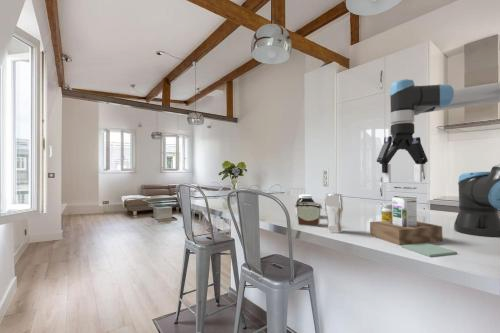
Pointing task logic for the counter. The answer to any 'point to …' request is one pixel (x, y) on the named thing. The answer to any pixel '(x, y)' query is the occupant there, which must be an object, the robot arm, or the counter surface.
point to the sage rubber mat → (429, 249)
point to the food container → (308, 213)
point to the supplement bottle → (387, 212)
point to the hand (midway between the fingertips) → (402, 182)
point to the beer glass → (334, 212)
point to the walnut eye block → (406, 232)
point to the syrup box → (404, 211)
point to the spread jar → (304, 199)
